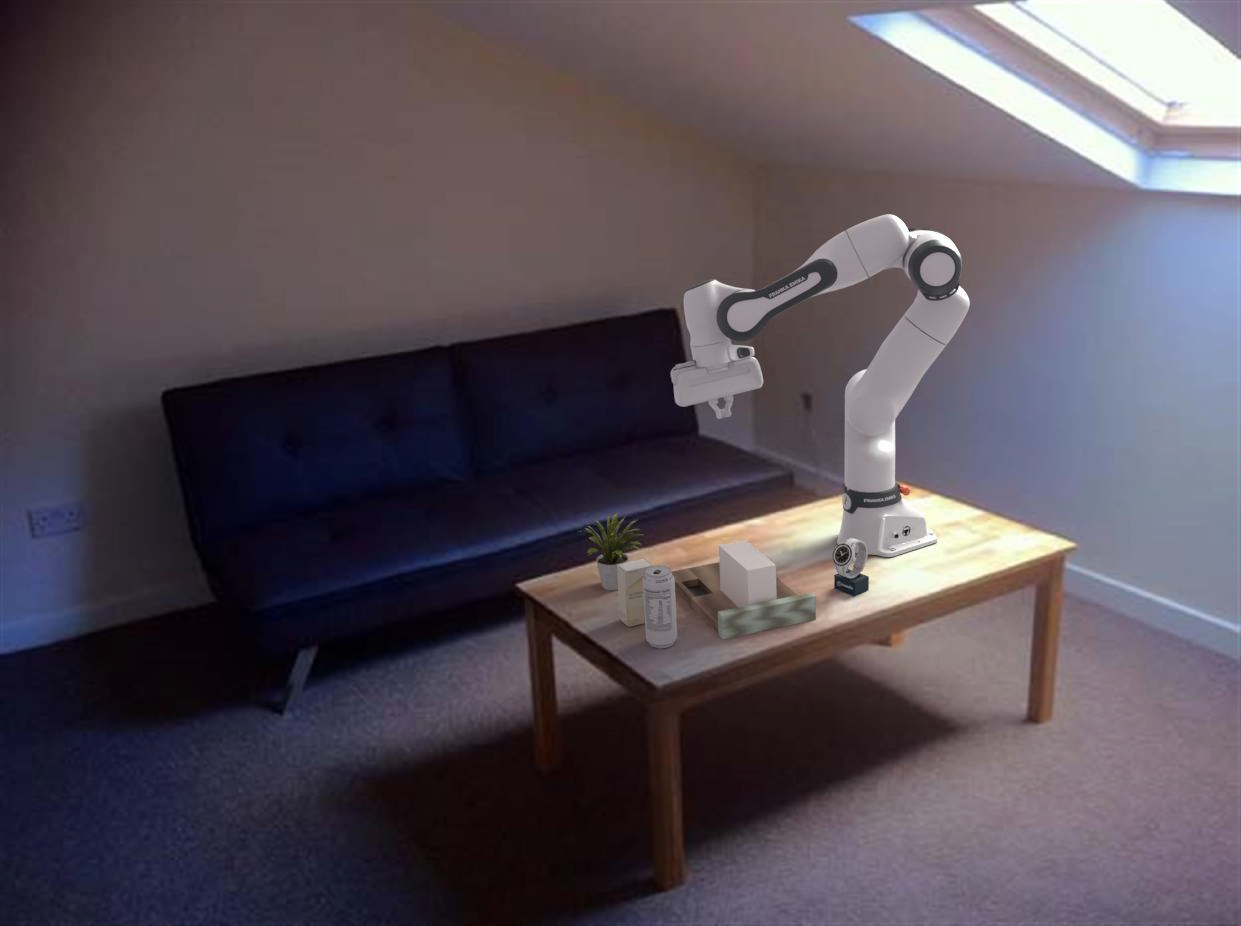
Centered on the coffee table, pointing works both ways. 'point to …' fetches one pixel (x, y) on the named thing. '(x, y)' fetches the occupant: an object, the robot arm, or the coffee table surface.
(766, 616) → the wooden tray
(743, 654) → the coffee table surface
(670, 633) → the energy drink can
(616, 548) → the house plant
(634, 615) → the skincare box
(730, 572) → the block
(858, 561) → the watch
